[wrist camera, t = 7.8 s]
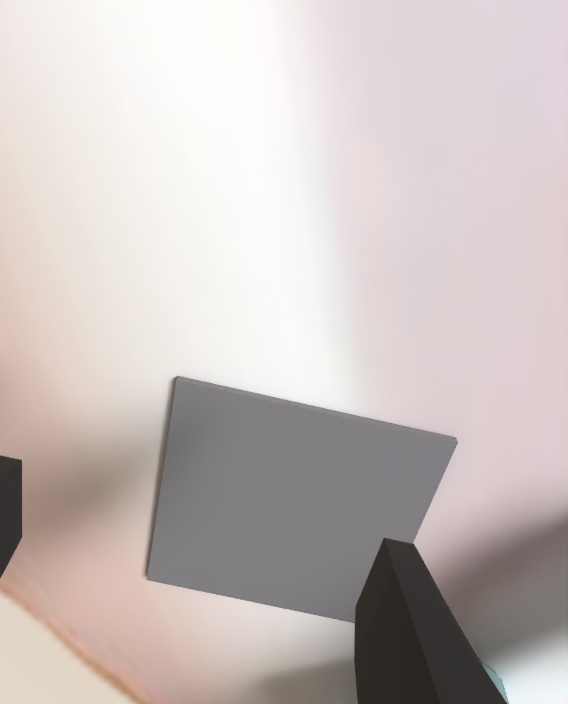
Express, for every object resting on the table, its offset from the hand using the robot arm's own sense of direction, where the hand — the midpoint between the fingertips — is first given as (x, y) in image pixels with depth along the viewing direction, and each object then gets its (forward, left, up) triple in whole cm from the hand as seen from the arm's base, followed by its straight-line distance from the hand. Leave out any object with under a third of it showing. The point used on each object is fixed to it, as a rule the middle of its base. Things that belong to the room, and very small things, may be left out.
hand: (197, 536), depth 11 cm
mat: (-3, +8, -10) cm, 13 cm away
